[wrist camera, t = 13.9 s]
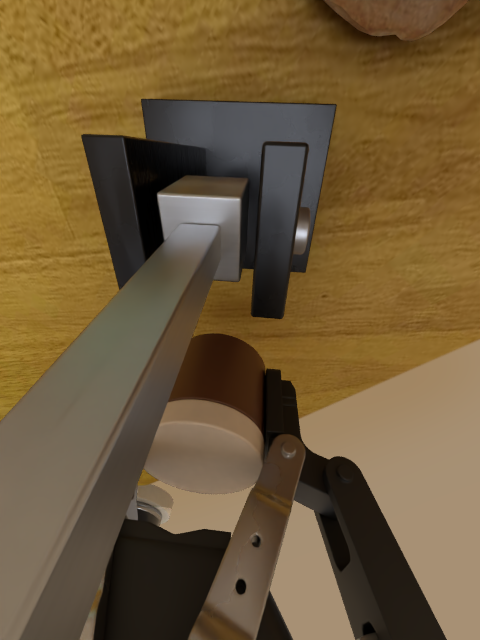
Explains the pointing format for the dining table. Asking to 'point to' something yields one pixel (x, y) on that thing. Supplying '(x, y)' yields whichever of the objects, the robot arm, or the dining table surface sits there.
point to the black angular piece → (218, 161)
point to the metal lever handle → (106, 415)
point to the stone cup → (396, 15)
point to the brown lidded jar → (213, 419)
